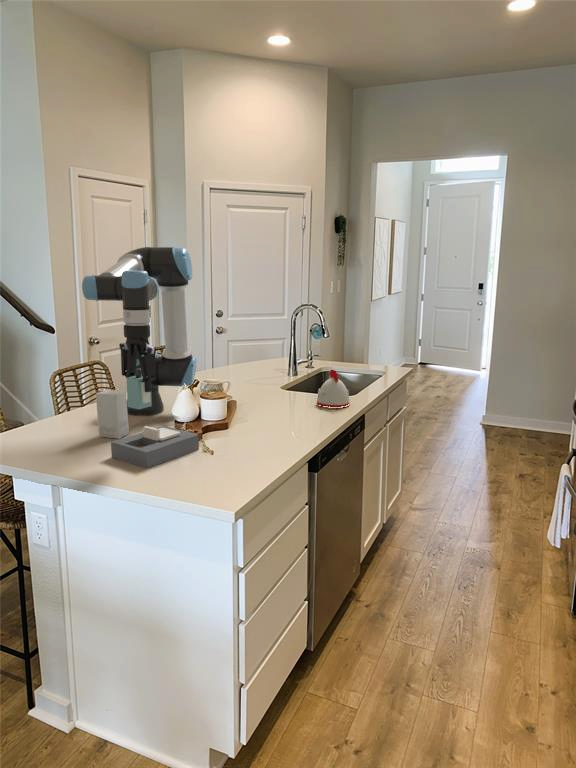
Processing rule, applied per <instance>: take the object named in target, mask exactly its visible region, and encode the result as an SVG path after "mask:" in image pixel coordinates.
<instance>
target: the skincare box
mask: <svg viewBox="0 0 576 768" xmlns="http://www.w3.org/2000/svg"><path fill="white" fill-rule="evenodd" d="M95 401H96V411H97V421H98V422H97V423H98V434H99V435H98V436H99V437H100V438H108V439H110V438H111V439H117V440H119V439H122V438H125V436H126V437H127V436H128V435H129V434H130V430H129V429H130V428H129V414H128V413H127V390H115V389H105V390H102V391H100V392H97V393H95Z"/></svg>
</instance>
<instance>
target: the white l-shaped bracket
mask: <svg viewBox="0 0 576 768" xmlns="http://www.w3.org/2000/svg"><path fill="white" fill-rule="evenodd" d="M156 428H157V427H152V426H148V425H145V426H143V428H142V429H143V432H144V433H143V436H144V437H145V438H148V439H152V440H156V441H158V440H160V441H163V440H166V439H169V438H172V437H175V436H178V435H181V432H178V431H174V430H170V429H166V428H159V429H156Z"/></svg>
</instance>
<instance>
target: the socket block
mask: <svg viewBox="0 0 576 768" xmlns="http://www.w3.org/2000/svg"><path fill="white" fill-rule="evenodd" d="M155 428H156V429H159V428H166V429H170V430H174V431H178V432H181V435H178V436H175V437H172V438H169V439H166V440H163V441H160V440H158V441H156V440H152V439H148V438H145V437H144V436H143V433H144V432H139V433H136V434H135V433H134V434H132V435H129V436H126V437H122V438H119V439H117V440H112V441H111V442H110V449H111V450H110V451H111V458H113V459H116V460H119V461H122V462H125V463H129V464H131V465H135V466H138V467H142V468H145V469H150V468H153V467H155V466H158V465H161V464H163V463H166V462H169V461H172V460H174V459H176V458H179V457H181V456H184V455H188V454H190V453H193V452H197V451H198V450H199V449H200V437H199V436H200V435H199V434H198V433H194V432H190V431H186V430H183V429H182V430H181V429H178V428H174V427H169V426H166V425H163V426H159V427H155Z"/></svg>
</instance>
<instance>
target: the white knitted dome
mask: <svg viewBox="0 0 576 768" xmlns="http://www.w3.org/2000/svg"><path fill="white" fill-rule="evenodd" d="M339 378H340V377H338V373H337V370H335V369H330V371H329V378H328V379H327V380H325V382H324V383H323V384H322V385H321V387H320V388H318V390H317V398H316V405H317V404H318V405H321V406H328V407H329V406H330V407H341V406H346V405H348V404H349V405H350V396H349V395H350V392H349V389H347V387H346V385H345V384H344V382H343V381H342V380H340V379H339ZM318 405H317V406H318Z"/></svg>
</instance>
